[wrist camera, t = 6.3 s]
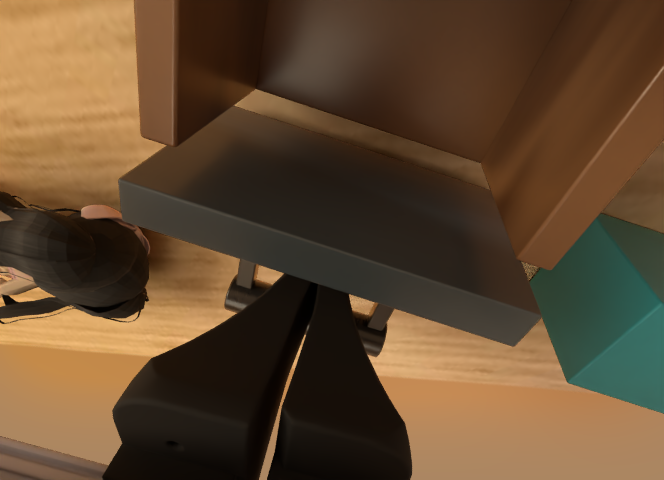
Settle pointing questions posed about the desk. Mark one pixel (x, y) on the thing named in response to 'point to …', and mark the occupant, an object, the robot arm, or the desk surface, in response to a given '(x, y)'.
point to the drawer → (402, 120)
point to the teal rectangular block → (609, 311)
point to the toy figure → (71, 260)
